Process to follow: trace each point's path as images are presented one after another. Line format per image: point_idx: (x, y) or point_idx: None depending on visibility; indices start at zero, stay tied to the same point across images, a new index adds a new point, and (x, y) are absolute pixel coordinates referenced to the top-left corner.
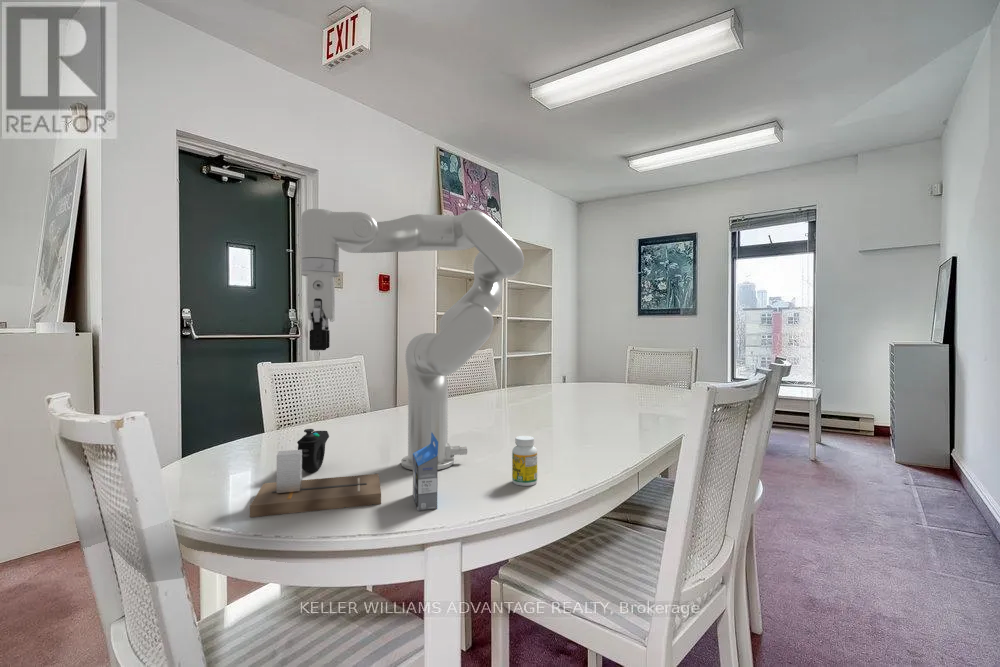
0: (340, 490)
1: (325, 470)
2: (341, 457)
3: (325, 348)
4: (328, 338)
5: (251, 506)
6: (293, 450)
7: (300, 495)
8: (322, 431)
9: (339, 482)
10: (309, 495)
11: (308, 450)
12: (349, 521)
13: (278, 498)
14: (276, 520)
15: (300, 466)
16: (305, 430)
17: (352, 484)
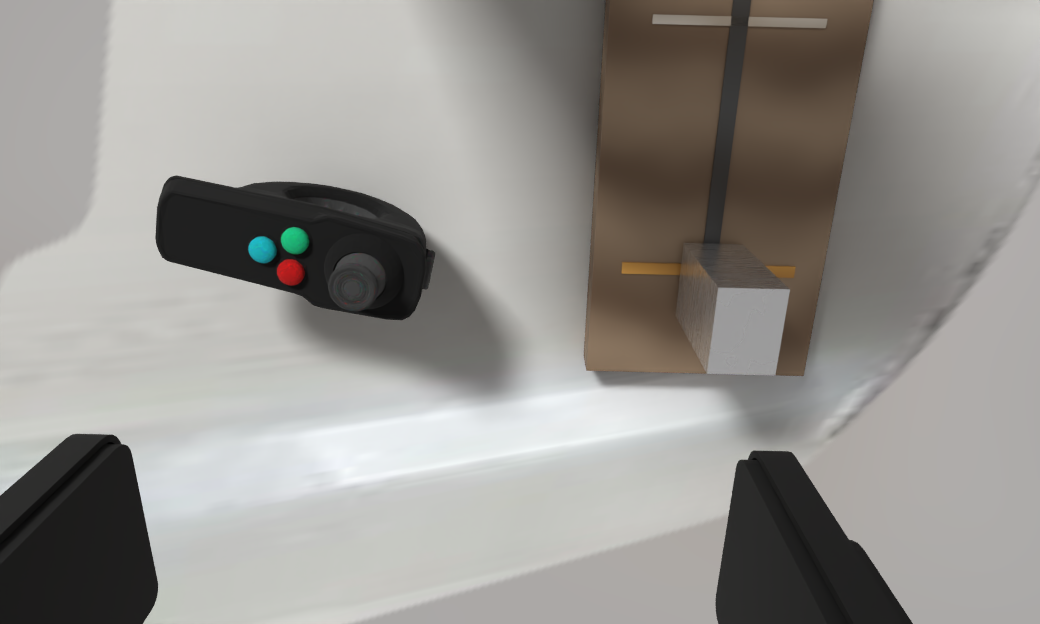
0: (779, 97)
1: (358, 164)
2: (154, 97)
3: (794, 464)
4: (37, 531)
5: (804, 370)
6: (719, 320)
7: (772, 238)
8: (172, 216)
9: (678, 103)
10: (786, 208)
11: (430, 258)
12: (974, 61)
13: None
14: (850, 286)
15: (759, 270)
16: (368, 304)
17: (732, 48)
